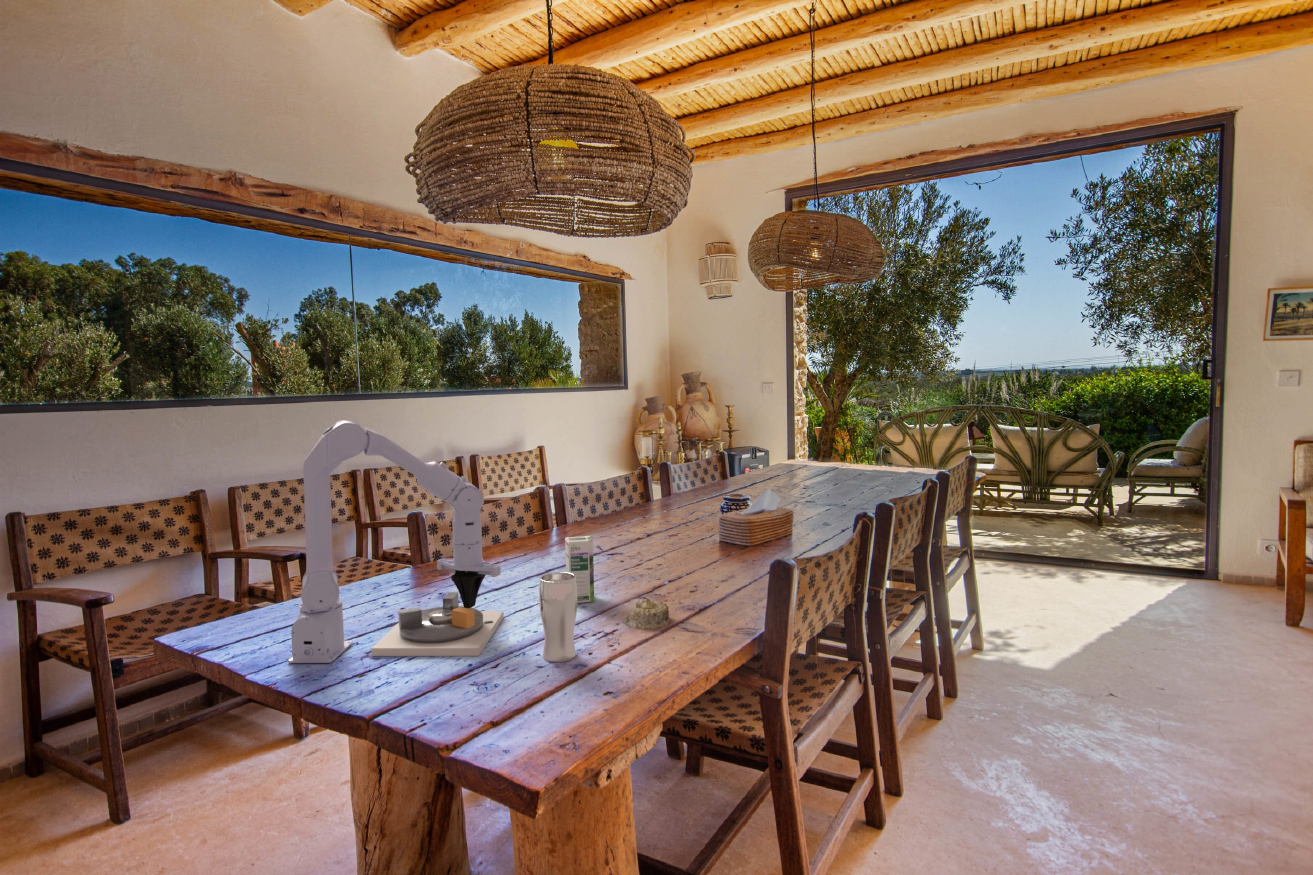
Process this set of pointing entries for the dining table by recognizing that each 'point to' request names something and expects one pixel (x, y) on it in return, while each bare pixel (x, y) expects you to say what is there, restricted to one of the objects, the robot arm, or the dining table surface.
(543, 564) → the dining table surface
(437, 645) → the plate
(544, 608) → the beer glass
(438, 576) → the dining table surface
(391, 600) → the dining table surface
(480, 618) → the rotary indexing table
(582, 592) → the syrup box
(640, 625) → the cake
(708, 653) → the dining table surface
